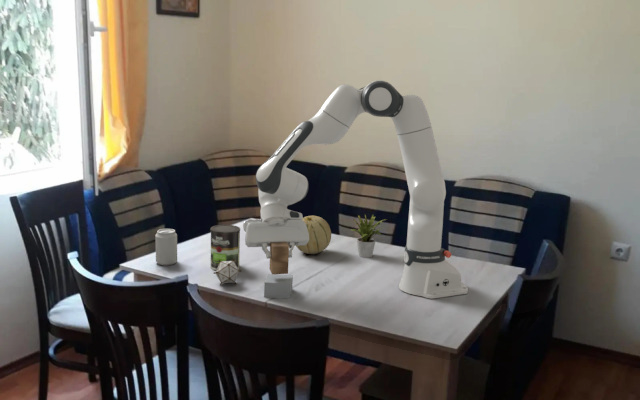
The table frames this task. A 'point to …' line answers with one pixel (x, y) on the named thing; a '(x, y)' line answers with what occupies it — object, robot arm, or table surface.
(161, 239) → the can
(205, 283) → the table surface
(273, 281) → the base block
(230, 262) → the game die
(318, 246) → the cantaloupe
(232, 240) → the coffee can
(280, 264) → the walnut block
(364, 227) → the house plant
